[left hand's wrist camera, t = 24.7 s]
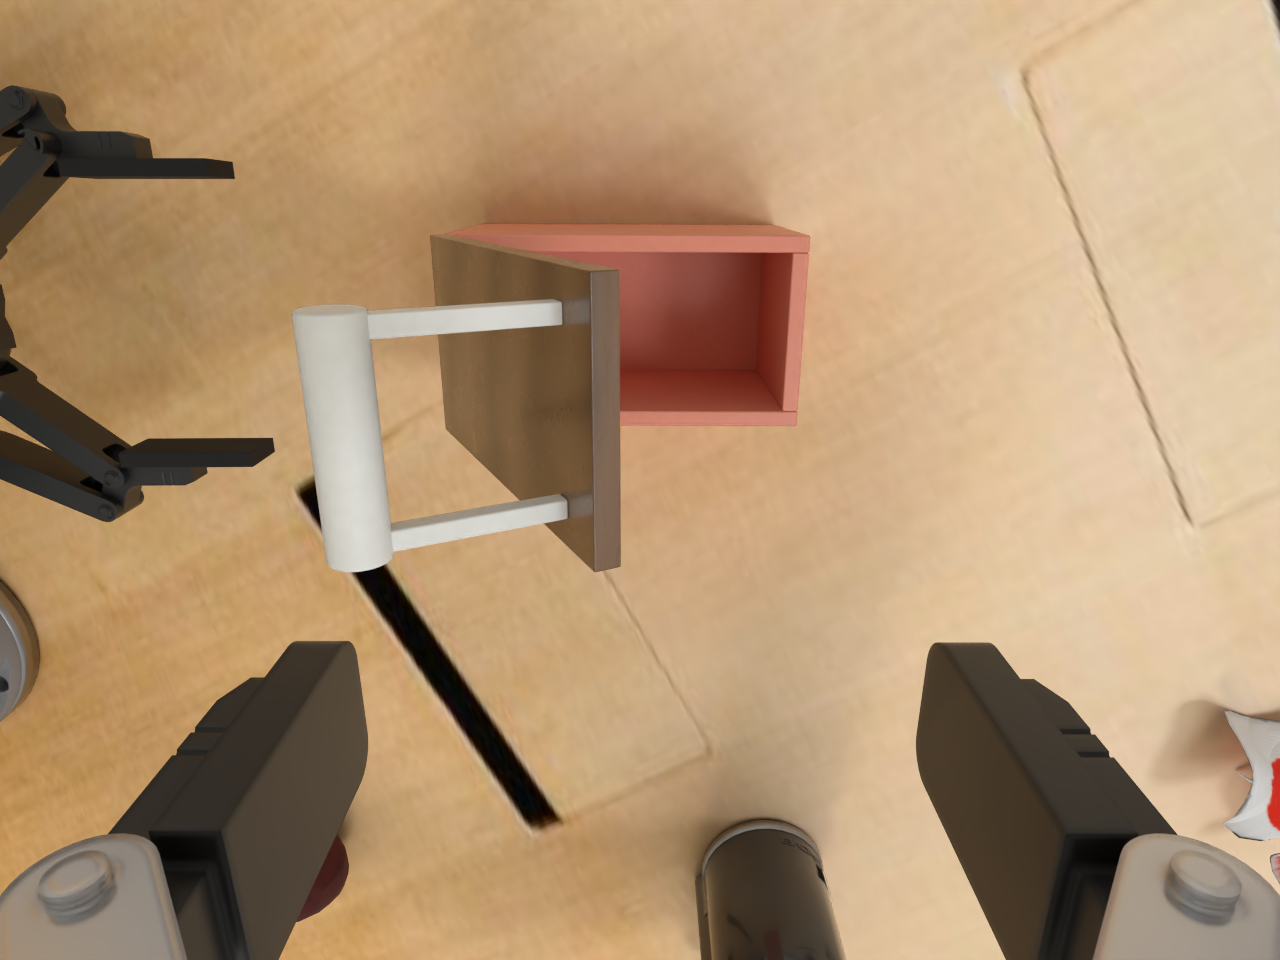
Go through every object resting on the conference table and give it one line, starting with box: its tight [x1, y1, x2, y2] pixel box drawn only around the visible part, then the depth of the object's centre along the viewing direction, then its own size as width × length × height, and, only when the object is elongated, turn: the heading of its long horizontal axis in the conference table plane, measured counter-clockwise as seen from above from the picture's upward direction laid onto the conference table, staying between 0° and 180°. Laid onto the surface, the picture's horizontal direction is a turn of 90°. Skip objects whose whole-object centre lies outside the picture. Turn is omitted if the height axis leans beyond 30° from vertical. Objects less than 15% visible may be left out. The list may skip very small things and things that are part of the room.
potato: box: [296, 835, 349, 922], centre depth 60 cm, size 7×8×7 cm
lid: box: [292, 235, 621, 572], centre depth 30 cm, size 18×9×8 cm
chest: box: [443, 224, 810, 426], centre depth 44 cm, size 17×9×11 cm, turn 90°
